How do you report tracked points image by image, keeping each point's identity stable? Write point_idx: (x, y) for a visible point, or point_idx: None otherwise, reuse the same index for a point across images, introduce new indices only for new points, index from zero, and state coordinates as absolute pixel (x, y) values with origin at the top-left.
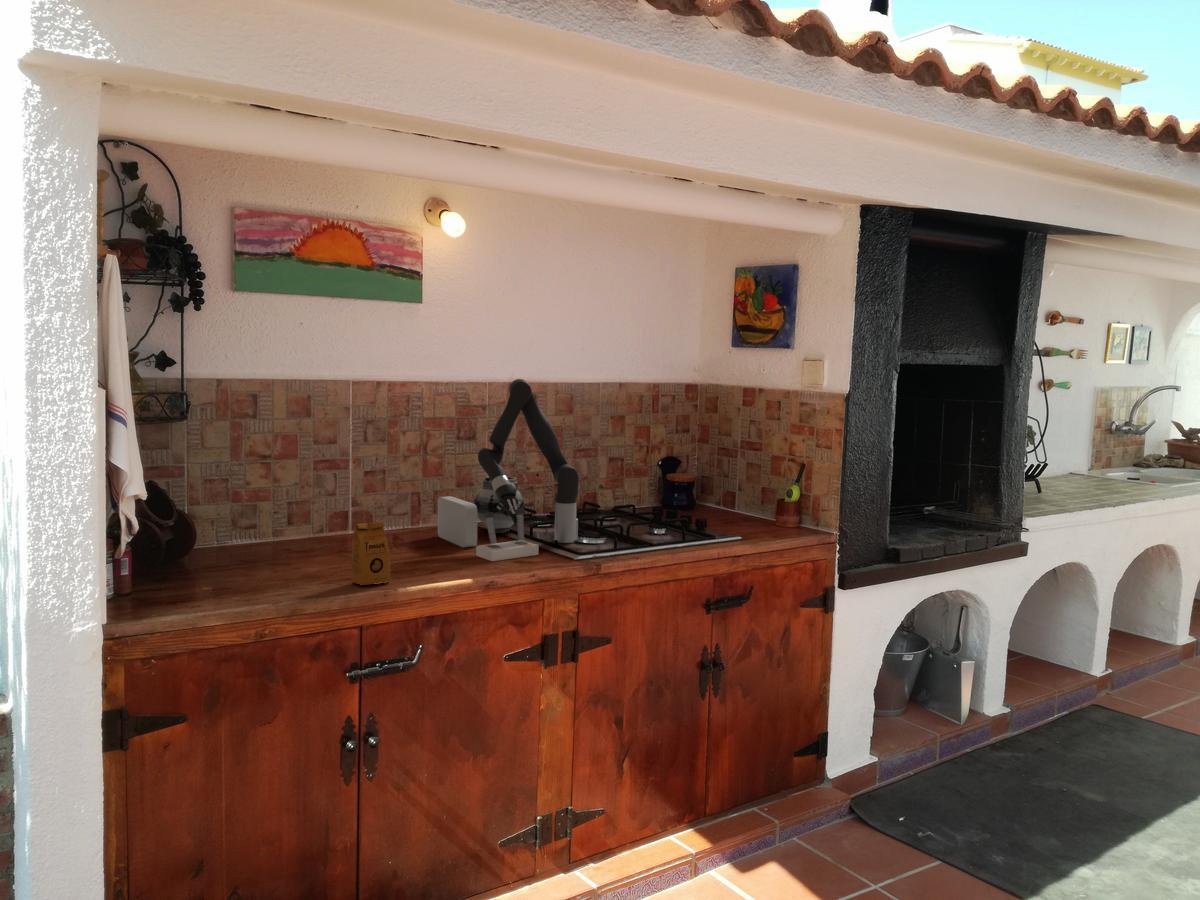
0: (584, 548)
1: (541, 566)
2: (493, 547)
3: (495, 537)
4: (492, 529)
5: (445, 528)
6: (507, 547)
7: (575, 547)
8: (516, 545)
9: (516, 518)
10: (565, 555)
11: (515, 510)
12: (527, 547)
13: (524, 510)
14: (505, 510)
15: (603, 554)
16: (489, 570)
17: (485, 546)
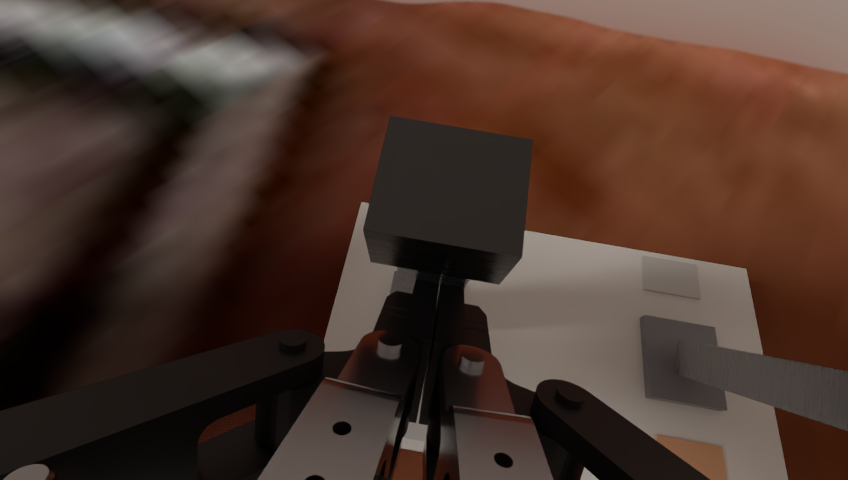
0: (25, 170)
1: (537, 72)
2: (706, 326)
3: (713, 346)
4: (802, 362)
5: None
6: (591, 285)
7: (22, 222)
8: (494, 292)
9: (457, 304)
10: (272, 131)
11: (520, 240)
12: None
13: (394, 128)
14: (665, 453)
15: (127, 37)
16: (791, 162)
17: (728, 436)
